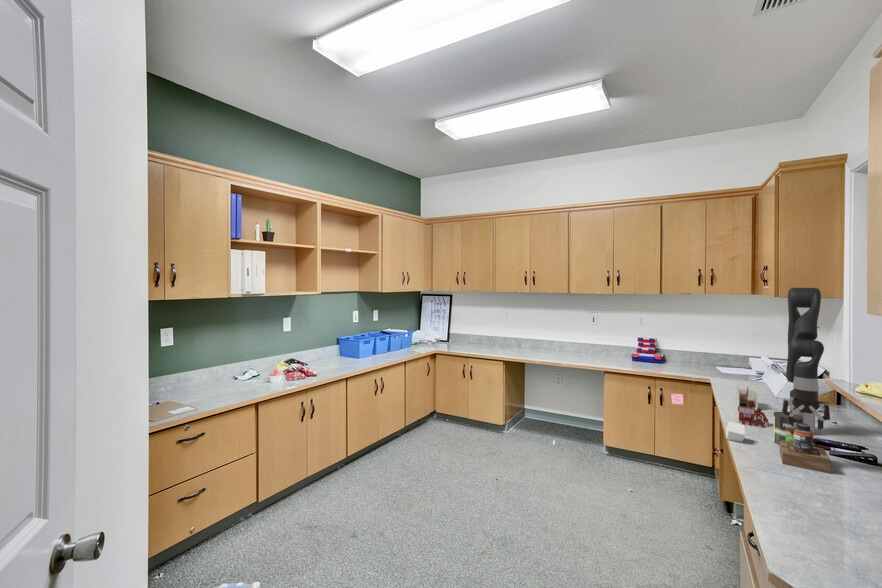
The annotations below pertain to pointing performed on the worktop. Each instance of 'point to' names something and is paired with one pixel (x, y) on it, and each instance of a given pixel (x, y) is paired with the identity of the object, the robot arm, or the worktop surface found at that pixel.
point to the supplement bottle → (803, 438)
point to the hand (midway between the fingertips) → (805, 427)
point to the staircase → (747, 397)
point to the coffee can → (784, 427)
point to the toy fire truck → (752, 417)
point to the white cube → (735, 432)
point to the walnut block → (805, 458)
